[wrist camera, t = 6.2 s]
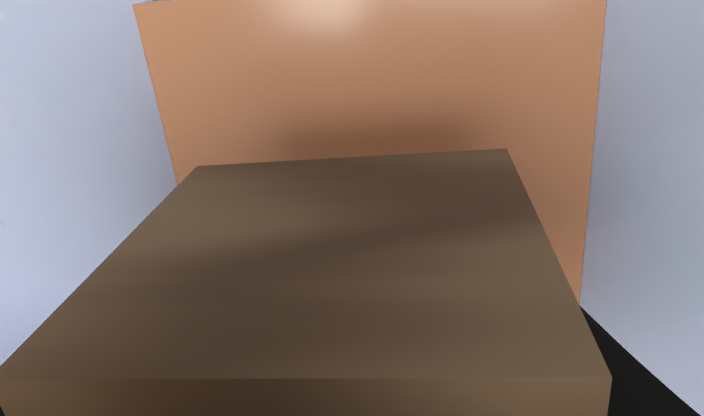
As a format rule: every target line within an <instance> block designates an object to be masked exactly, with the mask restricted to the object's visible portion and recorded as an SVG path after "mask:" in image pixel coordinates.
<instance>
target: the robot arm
mask: <svg viewBox="0 0 704 416" xmlns="http://www.w3.org/2000/svg"><path fill="white" fill-rule="evenodd" d="M580 308H581V311H582V313H583V315H584V317H585V319H586V321H587V324H588V326H589V328H590V330H591V332H592V334H593V337H594V339H595V341H596V343H597V345H598V347H599V350H600V352H601V354H602V356H603V358H604V360H605V363H606V365H607V367H608V369H609V371H610V373H611V376H612V383H611V391H610V398H609V406H608V413H607V416H700V415H699V414H698V413H697V412H695V411H694V410H693V409H692V408H691V407H690V406H688V405H687V404H686V403H685V402H684V401H682V400H681V399H680V398H679V397H678V396H677V395H675V394H674V393H673V392H672V391H671V390H670V389H669V388H668V387H666V386H665V385H664V384H663V383H662V382H661V381H660V380H659V379H657V378H656V377H655V376H654V375H653V374H652V373H651V372H650V371H648V370H647V369H646V368H645V367H644V366H643V365H642V364H641V363H639V362H638V361H637V360H636V359H635V358H634V357H633V356H632V355H631V354H630V353H629V352H627V351H626V350H625V349H624V348H623V347H622V346H621V345H620V344H619V343H618V342H617V341H616V340H615V339H614V338H613V337H612V336H611V335H609V334H608V333H607V332H606V331H605V330H604V329H603V328H602V327H601V326H600V325H599V324H598V323H597V322H596V321H595V320H594V319H593V318H592V317H591V316H590V315H589V314H588V313H587V312H586V311H585V310H584V309H583V308H582V307H580ZM0 416H5V414H4V412H3V410H2V408H1V406H0Z"/></svg>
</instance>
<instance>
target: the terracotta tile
mask: <svg viewBox="0 0 704 416" xmlns="http://www.w3.org/2000/svg"><path fill="white" fill-rule="evenodd" d="M606 4H607V0H156V1H147V2H142V3H137V4H133V9H134V13H135V17H136V21H137V25H138V29H139V33H140V37H141V41H142V45H143V49H144V53H145V57H146V61H147V65H148V69H149V73H150V77H151V80H152V84H153V88H154V92H155V96H156V100H157V104H158V108H159V112H160V116H161V120H162V124H163V128H164V132H165V136H166V140H167V144H168V148H169V152H170V156H171V160H172V164H173V168H174V172H175V176H176V180H177V184H178V185H179V184H180V183H181V182H182V181H183V180H184V179H185V178H186V177H187V176H188V175H189V174H190V173H191V172H192V171H193V170H194V169H195V168H196V167H197V166H205V165H223V164H240V163H258V162H276V161H293V160H311V159H328V158H346V157H364V156H381V155H399V154H417V153H434V152H452V151H469V150H487V149H505V148H507V150H508V153H509V155H510V157H511V159H512V161H513V163H514V166H515V168H516V170H517V172H518V174H519V176H520V179H521V181H522V183H523V185H524V187H525V189H526V192H527V194H528V196H529V198H530V200H531V202H532V205H533V207H534V209H535V211H536V213H537V215H538V218H539V220H540V222H541V224H542V226H543V228H544V231H545V233H546V235H547V237H548V239H549V241H550V243H551V246H552V248H553V250H554V252H555V254H556V256H557V259H558V261H559V263H560V265H561V267H562V269H563V272H564V274H565V276H566V278H567V280H568V282H569V285H570V287H571V289H572V291H573V293H574V295H575V298H576V300H577V302H578V304H579V300H580V289H581V278H582V267H583V256H584V245H585V234H586V224H587V213H588V202H589V191H590V180H591V169H592V158H593V147H594V136H595V125H596V114H597V103H598V92H599V81H600V70H601V59H602V48H603V37H604V26H605V15H606Z"/></svg>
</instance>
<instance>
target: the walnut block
mask: <svg viewBox="0 0 704 416" xmlns="http://www.w3.org/2000/svg"><path fill="white" fill-rule="evenodd" d="M611 383H612V376H611V373H610V371H609V369H608V367H607V365H606V363H605V360H604V358H603V356H602V354H601V352H600V350H599V347H598V345H597V343H596V341H595V339H594V337H593V334H592V332H591V330H590V328H589V326H588V324H587V321H586V319H585V317H584V315H583V313H582V311H581V308H580V306H579V304H578V302H577V300H576V298H575V295H574V293H573V291H572V289H571V287H570V285H569V282H568V280H567V278H566V276H565V274H564V272H563V269H562V267H561V265H560V263H559V261H558V259H557V256H556V254H555V252H554V250H553V248H552V246H551V243H550V241H549V239H548V237H547V235H546V233H545V231H544V228H543V226H542V224H541V222H540V220H539V218H538V215H537V213H536V211H535V209H534V207H533V205H532V202H531V200H530V198H529V196H528V194H527V192H526V189H525V187H524V185H523V183H522V181H521V179H520V176H519V174H518V172H517V170H516V168H515V166H514V163H513V161H512V159H511V157H510V155H509V153H508V150H507V148H505V149H487V150H469V151H452V152H434V153H417V154H399V155H381V156H364V157H346V158H328V159H311V160H293V161H276V162H258V163H240V164H223V165H205V166H197V167H196V168H195V169H194V170H193V171H192V172H191V173H190V174H189V175H188V176H187V177H186V178H185V179H184V180H183V181H182V182H181V183H180V184H179V185H178V186H177V187H176V188H175V189H174V190H173V191H172V192H171V193H170V194H169V195H168V196H167V197H166V198H165V199H164V200H163V201H162V202H161V203H160V204H159V205H158V206H157V207H156V208H155V209H154V210H153V211H152V212H151V213H150V214H149V215H148V216H147V218H146V219H145V220H144V221H143V222H142V223H141V224H140V225H139V226H138V227H137V228H136V229H135V230H134V231H133V232H132V233H131V234H130V235H129V236H128V237H127V238H126V239H125V240H124V241H123V242H122V243H121V244H120V245H119V246H118V247H117V248H116V249H115V250H114V251H113V252H112V253H111V254H110V255H109V256H108V257H107V258H106V259H105V260H104V261H103V262H102V263H101V264H100V265H99V266H98V267H97V268H96V269H95V271H94V272H93V273H92V274H91V275H90V276H89V277H88V278H87V279H86V280H85V281H84V282H83V283H82V284H81V285H80V286H79V287H78V288H77V289H76V290H75V291H74V292H73V293H72V294H71V295H70V296H69V297H68V298H67V299H66V300H65V301H64V302H63V303H62V304H61V305H60V306H59V307H58V308H57V309H56V310H55V311H54V312H53V313H52V314H51V315H50V316H49V317H48V318H47V319H46V320H45V321H44V323H43V324H42V325H41V326H40V327H39V328H38V329H37V330H36V331H35V332H34V333H33V334H32V335H31V336H30V337H29V338H28V339H27V340H26V341H25V342H24V343H23V344H22V345H21V346H20V347H19V348H18V349H17V350H16V351H15V352H14V353H13V354H12V355H11V356H10V357H9V358H8V359H7V360H6V361H5V362H4V363H3V364H2V365H1V366H0V406H1V408H2V410H3V412H4V414H5V416H607V413H608V406H609V398H610V391H611Z"/></svg>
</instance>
